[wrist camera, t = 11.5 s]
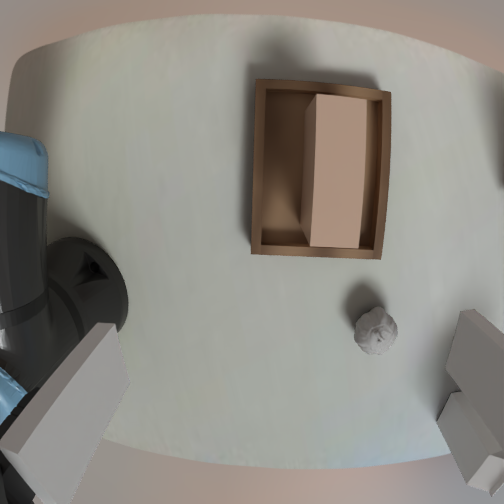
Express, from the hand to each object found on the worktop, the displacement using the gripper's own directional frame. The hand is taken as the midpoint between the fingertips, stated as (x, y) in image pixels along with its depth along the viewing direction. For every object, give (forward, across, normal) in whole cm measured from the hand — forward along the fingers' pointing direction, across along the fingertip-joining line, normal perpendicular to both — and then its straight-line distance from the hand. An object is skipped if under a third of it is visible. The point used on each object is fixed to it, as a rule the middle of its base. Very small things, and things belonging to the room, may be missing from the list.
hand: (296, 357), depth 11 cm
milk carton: (+24, +32, -31) cm, 51 cm away
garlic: (+25, +12, -13) cm, 30 cm away
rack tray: (+25, +5, +6) cm, 26 cm away
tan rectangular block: (+24, +5, +6) cm, 25 cm away
